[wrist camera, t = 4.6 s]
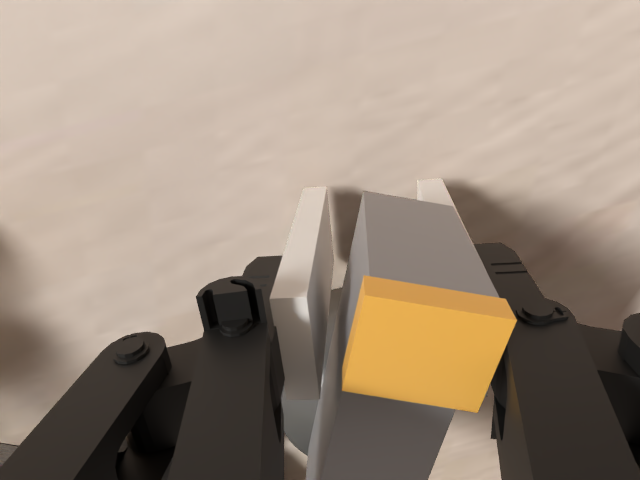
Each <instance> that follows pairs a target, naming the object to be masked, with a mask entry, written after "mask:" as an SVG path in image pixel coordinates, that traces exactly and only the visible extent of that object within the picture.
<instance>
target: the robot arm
mask: <svg viewBox="0 0 640 480" xmlns="http://www.w3.org/2000/svg"><path fill="white" fill-rule="evenodd" d="M417 200H420V201H426V202H432V203H437V204H443V205H449V206H453V207H454V209H455V211H456V213H457V215H458V217H459V219H460V221H461V223H462V225H463V227H464V229H465V231H466V233H467V235H468V237H469V239H470V241H471V243H472V244H473V242H472V240H471V238H470V236H469V234H468V232H467V230H466V228H465V226H464V224H463V222H462V220H461V218H460V215H459V213H458V211H457V209H456V207H455V205H454V203H453V201H452V199H451V197H450V195H449V193H448V191H447V189H446V186H445V184H444V182H443V180H442V178H440V179H425V180H417ZM473 246H474V248H475V250H476V252H477V254H478V256H479V258H480V260H481V262H482V264H483V266H484V268H485V270H486V272H487V274H488V276H489V278H490V280H491V282H492V284H493V286H494V288H495V289H496V291H497V293H498V295H499V297H500V298H504V299H506V300H507V302H508V304H509V306H510V308H511V310H512V312H513V314H514V316H515V317H516V319H517V322H516V324H515V326H514V329H513V331H512V333H511V336H510V338H509V340H508V343H507V345H506V347H505V350H504V352H503V354H502V357H501V359H500V361H499V364H498V366H497V368H496V371H495V373H494V375H493V378H492V380H491V382H490V383H491V386H492V389H493V391H494V406H493V418H492V431H491V439H497V447H498V454H499V462H500V470H501V478H502V480H640V313H637V314H633V315H630V316H629V317H628V318H627V319H625V320H624V323H623V328H622V331H615V330H609V329H602V328H595V327H590V326H586V325H581V324H578V323H577V322H576V320H575V317H574V316H573V314H572V313H571V312H570V311H569V309H568V308H566V307H564V306H563V305H561V304H559V303H558V302H555V301H552V300H549V299H546V298H544V296H543V295H542V293H541V292H540V290H539V289H538V287H537V285H536V284H535V282H534V281H533V279H532V278H531V276H530V274H529V273H527V270H526V268H525V267H524V265H523V264H522V262H521V260H520V259H519V257H518V256H517V254H516V252H515V251H513V250H512V249H510V248H508V247H507V246H505V245H504V244H502V243H487V244H473ZM333 264H334V256H333V246H332V235H331V225H330V215H329V204H328V194H327V186H323V187H308V188H303V191H302V195H301V198H300V201H299V204H298V208H297V211H296V214H295V217H294V221H293V224H292V227H291V230H290V234H289V237H288V240H287V243H286V247H285V250H284V253H283V256H267V257H257V258H256V259H255V260H254V261H252V262H251V263H250V264H249V265H248V266H246V269H245V271H244V273H243V276H235V277H228V278H223V279H219V280H217V281H214V282H212V283H210V284H208V285H206V286H205V287H204V288H202V289H201V290H200V291H199V293H198V294H197V296H196V299H197V303H198V307H199V311H200V315H201V319H202V323H203V327H204V333H203V337H202V338H200V339H198V340H195V341H191V342H188V343H184V344H180V345H176V346H172V347H168V348H167V347H166V344H165V340H164V338H163V337H162V336H160V335H159V334H157V333H151V332H141V333H134V334H131V335H127V336H124V337H122V338H120V339H118V340H117V341H115V342H113V343H111V344H110V345H109V346H108V347H106V348H105V349H104V350H103V351H102V352H101V353H100V354H99V355H98V357H97V358H96V359H95V360H94V361H93V362H92V363H91V365H90V366H89V367H88V368H87V369H86V370H85V371H84V373H83V374H82V375H81V376H80V377H79V378H78V379H77V380H76V382H75V383H74V384H73V385H72V386H71V387H70V388H69V390H68V391H67V392H66V393H65V394H64V395H63V396H62V398H61V399H60V400H59V401H58V402H57V403H56V404H55V406H54V407H53V408H52V409H51V410H50V411H49V412H48V414H47V415H46V416H45V417H44V418H43V419H42V420H41V422H40V423H39V424H38V425H37V426H36V427H35V428H34V429H33V431H32V432H31V433H30V434H29V435H28V436H27V437H26V439H25V440H24V441H23V442H22V443H21V444H20V445H19V447H18V448H17V449H16V450H15V451H14V452H13V453H12V455H11V456H10V457H9V458H8V459H7V460H6V461H5V463H4V464H3V465H2V466H1V467H0V480H284V414H283V408H282V403H281V396H282V391H283V386H284V387H285V393H286V399H287V400H320V393H321V383H322V374H323V364H324V354H325V344H326V334H327V324H328V314H329V304H330V294H331V284H332V274H333ZM487 392H488V390H487ZM487 392H486V394H485V396H487Z"/></svg>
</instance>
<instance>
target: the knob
mask: <svg viewBox="0 0 640 480" xmlns="http://www.w3.org/2000/svg"><path fill="white" fill-rule="evenodd" d="M516 322H517V319H516V317H515V316H514V314H513V312H512V310H511V308H510V306H509V304H508V302H507V300H506V299H504V298H500V297H499V295H498V293H497V291H496V289H495V288H494V286H493V284H492V282H491V280H490V278H489V276H488V274H487V272H486V270H485V268H484V266H483V264H482V262H481V260H480V258H479V256H478V254H477V252H476V250H475V248H474V246H473V244H472V243H471V241H470V239H469V237H468V235H467V233H466V231H465V229H464V227H463V225H462V223H461V221H460V219H459V217H458V215H457V213H456V211H455V209H454V207H453V206H449V205H443V204H437V203H432V202H426V201H420V200H414V199H408V198H402V197H396V196H390V195H384V194H379V193H373V192H367V191H363V195H362V200H361V204H360V209H359V214H358V218H357V223H356V228H355V232H354V237H353V242H352V246H351V251H350V256H349V260H348V265H347V270H346V274H345V279H344V284H343V288H338V289H334V290H331V294H330V304H329V314H328V324H327V334H326V344H325V354H324V364H323V374H322V383H321V393H320V400H287V399H286V393H285V387H284V393H283V399H282V408H283V414H284V432H285V434H286V436H287V437H288V439H289V440H290V441H291V442H292V443H293V445H294V446H295V447H297V448H298V449H299V450H300V451H301V452H303V453H304V454H306V455H307V456H308V460H307V470H306V480H428V478H429V475H430V473H431V470H432V468H433V465H434V463H435V460H436V458H437V455H438V453H439V450H440V448H441V445H442V442H443V440H444V437H445V435H446V432H447V430H448V427H449V425H450V422H451V420H452V417H453V415H454V412H455V410H456V409H457V410H464V411H470V412H476V413H478V411H479V408H480V406H481V404H482V401H483V399H484V397H485V394H486V392H487V390H488V387H489V385H490V382H491V380H492V378H493V375H494V373H495V371H496V368H497V366H498V364H499V361H500V359H501V357H502V354H503V352H504V350H505V347H506V345H507V343H508V340H509V338H510V336H511V333H512V331H513V329H514V326H515V324H516Z"/></svg>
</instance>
